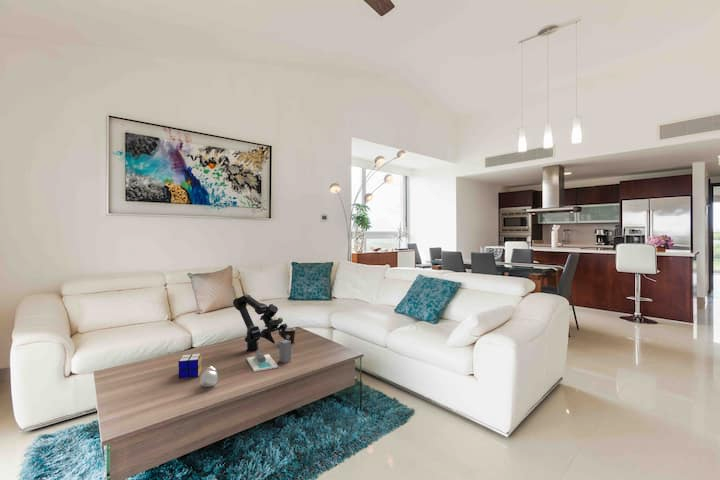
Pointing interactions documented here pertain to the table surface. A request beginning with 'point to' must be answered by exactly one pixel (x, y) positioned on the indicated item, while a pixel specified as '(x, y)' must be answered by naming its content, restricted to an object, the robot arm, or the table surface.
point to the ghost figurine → (209, 377)
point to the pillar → (284, 351)
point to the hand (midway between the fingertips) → (280, 341)
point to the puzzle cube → (190, 366)
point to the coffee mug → (290, 334)
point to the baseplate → (261, 362)
